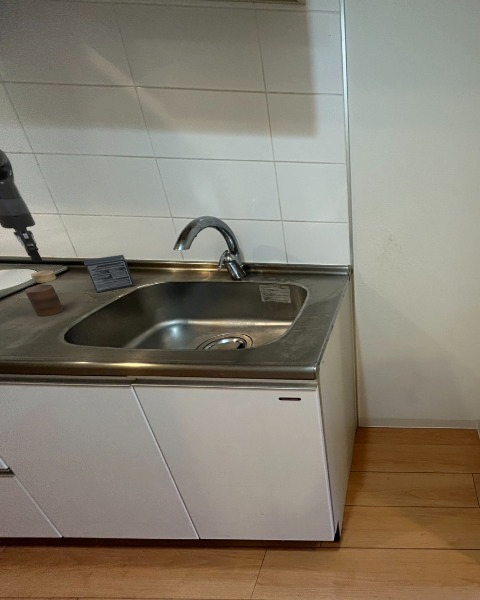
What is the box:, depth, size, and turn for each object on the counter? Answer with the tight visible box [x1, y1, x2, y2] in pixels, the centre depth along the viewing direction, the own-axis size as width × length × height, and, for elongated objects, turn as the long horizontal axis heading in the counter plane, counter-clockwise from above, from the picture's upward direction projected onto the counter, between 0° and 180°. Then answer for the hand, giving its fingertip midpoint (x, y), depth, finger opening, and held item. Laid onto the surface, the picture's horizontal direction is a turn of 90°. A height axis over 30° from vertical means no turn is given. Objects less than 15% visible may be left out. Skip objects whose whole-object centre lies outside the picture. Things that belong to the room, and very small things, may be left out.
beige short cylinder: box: [30, 269, 57, 284], centre depth 111 cm, size 6×6×3 cm
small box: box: [83, 254, 136, 293], centre depth 108 cm, size 11×6×10 cm, turn 134°
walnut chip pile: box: [24, 284, 64, 317], centre depth 91 cm, size 6×6×8 cm
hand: (35, 258), depth 108 cm, fingers open, 8 cm apart
